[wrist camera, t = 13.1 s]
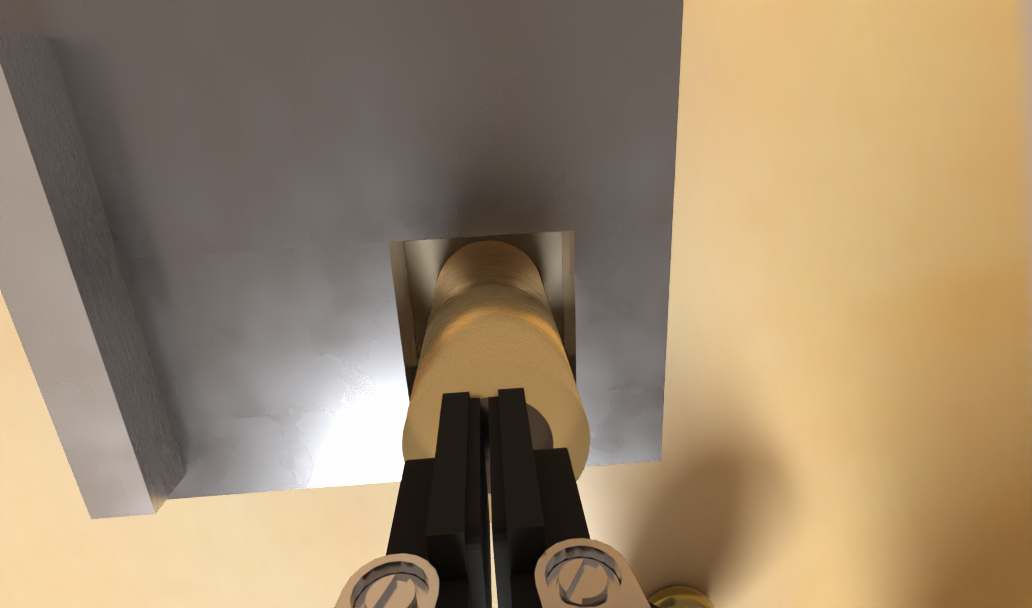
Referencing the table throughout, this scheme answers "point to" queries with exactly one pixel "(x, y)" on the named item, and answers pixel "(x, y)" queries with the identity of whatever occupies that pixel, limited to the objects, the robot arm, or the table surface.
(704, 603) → the cup
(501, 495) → the robot arm
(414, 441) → the brass bushing
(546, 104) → the plate
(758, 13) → the table surface
